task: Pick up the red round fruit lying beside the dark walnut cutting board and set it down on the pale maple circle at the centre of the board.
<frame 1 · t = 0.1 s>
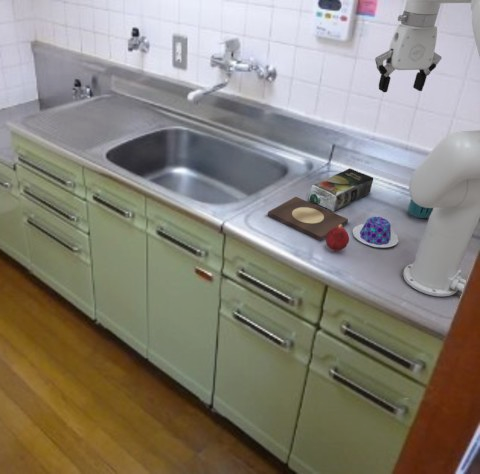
hand: (400, 90, 137), 37 cm above the counter, tool pointing down, fingers open, 9 cm apart
cutting board: (306, 219, 154), on the counter
beverage bottle: (417, 217, 156), on the counter
pudding: (374, 238, 147), on the counter
red round fruit: (334, 251, 141), on the counter
juice carton: (338, 198, 166), on the counter
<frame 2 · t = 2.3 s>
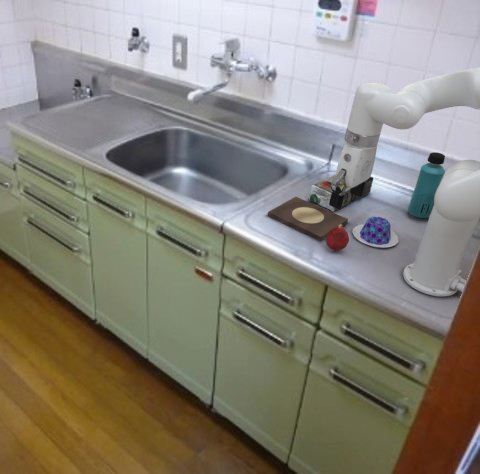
hand: (345, 200, 133), 15 cm above the counter, tool pointing down, fingers open, 9 cm apart
nothing on the counter moved.
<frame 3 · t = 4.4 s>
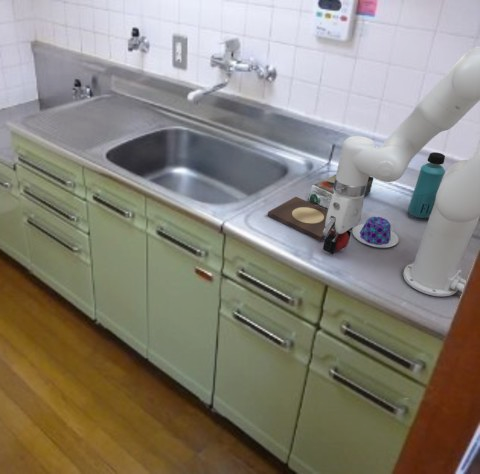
hand: (335, 246, 140), 1 cm above the counter, tool pointing down, fingers closed on red round fruit, 6 cm apart
red round fruit: (334, 251, 141), on the counter, touching gripper
everything else where it was.
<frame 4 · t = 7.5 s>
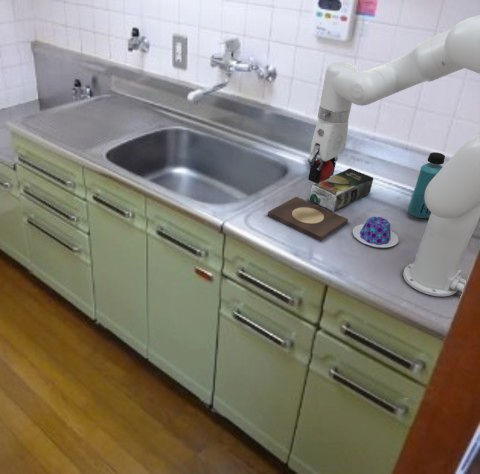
hand: (320, 177, 143), 15 cm above the counter, tool pointing down, fingers closed on red round fruit, 6 cm apart
red round fruit: (319, 182, 144), point 14 cm above the counter, touching gripper
everything else where it was.
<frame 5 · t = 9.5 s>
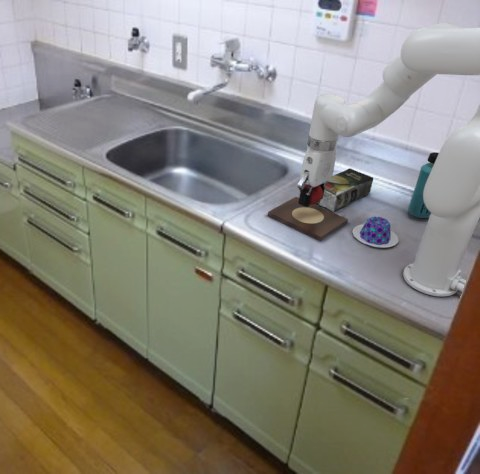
hand: (310, 200, 150), 6 cm above the counter, tool pointing down, fingers closed on red round fruit, 6 cm apart
red round fruit: (309, 205, 151), point 5 cm above the counter, touching gripper
everything else where it was.
when the fingers open (3 cm above the counter, at t = 10.9 s): red round fruit stays where it is, resting on cutting board.
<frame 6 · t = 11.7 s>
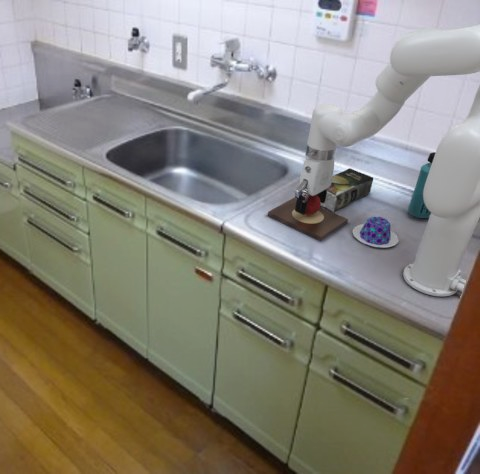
hand: (309, 207, 151), 4 cm above the counter, tool pointing down, fingers open, 9 cm apart
red round fruit: (307, 215, 153), point 1 cm above the counter, touching cutting board
everything else where it was.
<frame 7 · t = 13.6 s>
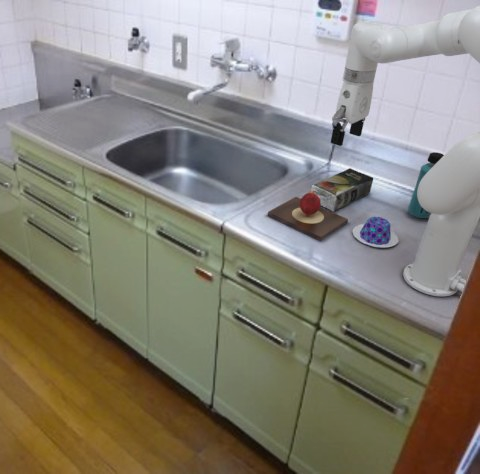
hand: (345, 139, 142), 24 cm above the counter, tool pointing down, fingers open, 9 cm apart
nothing on the counter moved.
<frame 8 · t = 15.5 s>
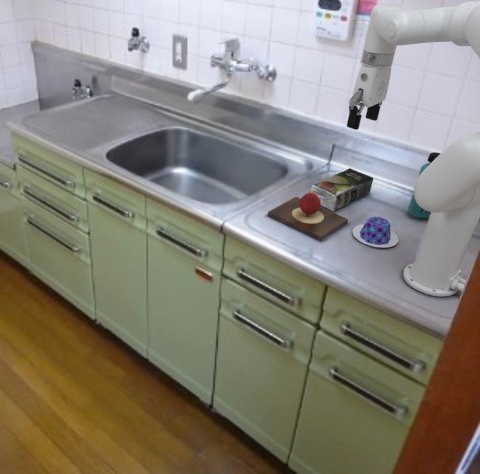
hand: (361, 123, 141), 28 cm above the counter, tool pointing down, fingers open, 9 cm apart
nothing on the counter moved.
at the end: red round fruit inside the target area on the cutting board (0.0 cm from its centre), point 1.4 cm above the cutting board's base; red round fruit touching cutting board; the gripper is holding nothing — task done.
